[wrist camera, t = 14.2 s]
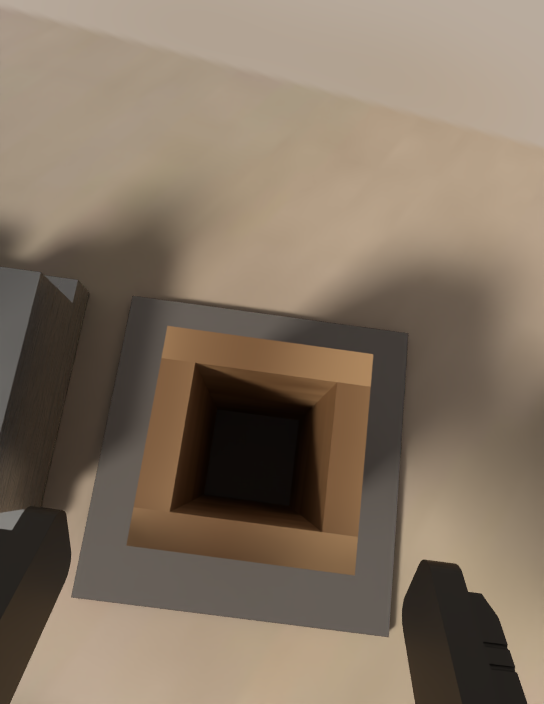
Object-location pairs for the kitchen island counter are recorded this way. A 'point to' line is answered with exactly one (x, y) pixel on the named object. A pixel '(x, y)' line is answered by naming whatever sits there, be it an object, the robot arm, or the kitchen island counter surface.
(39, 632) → the robot arm
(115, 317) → the kitchen island counter surface
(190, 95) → the kitchen island counter surface
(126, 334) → the mat
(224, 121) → the kitchen island counter surface
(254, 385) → the sleeve
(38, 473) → the vise
